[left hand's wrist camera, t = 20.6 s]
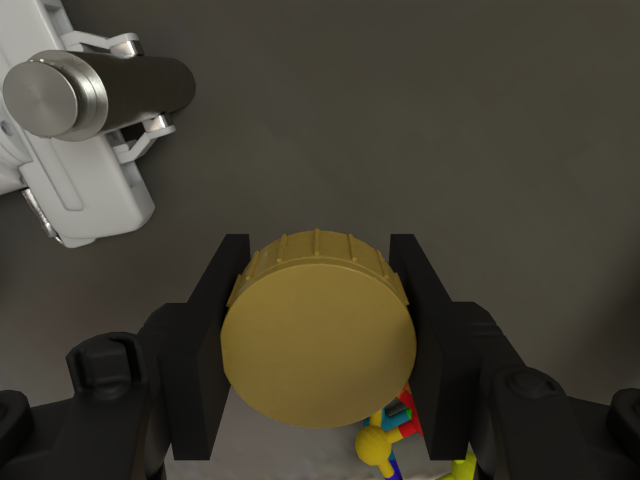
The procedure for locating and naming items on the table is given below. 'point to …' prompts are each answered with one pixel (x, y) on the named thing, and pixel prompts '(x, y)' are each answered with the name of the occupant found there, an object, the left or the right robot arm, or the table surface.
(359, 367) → the lid
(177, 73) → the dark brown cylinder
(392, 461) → the molecular model
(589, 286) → the table surface
